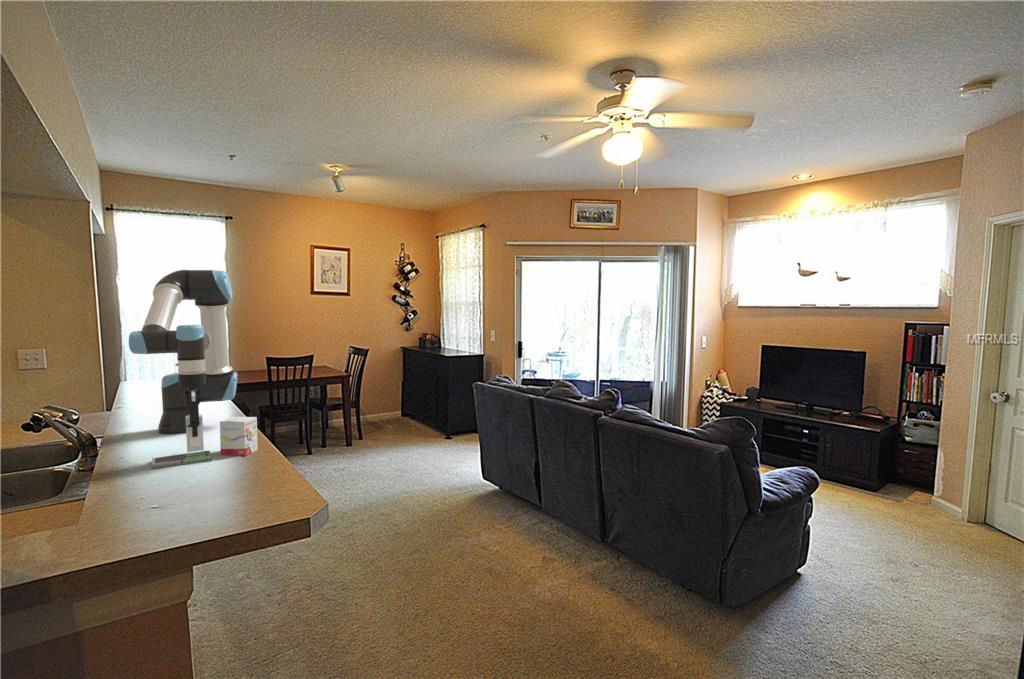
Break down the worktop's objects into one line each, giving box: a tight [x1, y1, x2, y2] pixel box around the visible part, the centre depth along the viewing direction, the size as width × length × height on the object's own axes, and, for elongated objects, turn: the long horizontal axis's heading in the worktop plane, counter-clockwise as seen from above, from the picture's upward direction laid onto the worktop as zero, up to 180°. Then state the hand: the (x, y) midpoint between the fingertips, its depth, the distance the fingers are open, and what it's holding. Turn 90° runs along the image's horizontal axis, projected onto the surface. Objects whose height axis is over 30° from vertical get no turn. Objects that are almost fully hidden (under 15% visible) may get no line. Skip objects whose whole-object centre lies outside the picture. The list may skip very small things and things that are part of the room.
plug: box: [185, 413, 205, 453], centre depth 166 cm, size 4×4×12 cm
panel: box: [150, 450, 213, 471], centre depth 164 cm, size 13×16×2 cm
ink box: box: [219, 416, 258, 457], centre depth 174 cm, size 9×9×12 cm
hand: (195, 444), depth 166 cm, fingers closed on plug, 4 cm apart
